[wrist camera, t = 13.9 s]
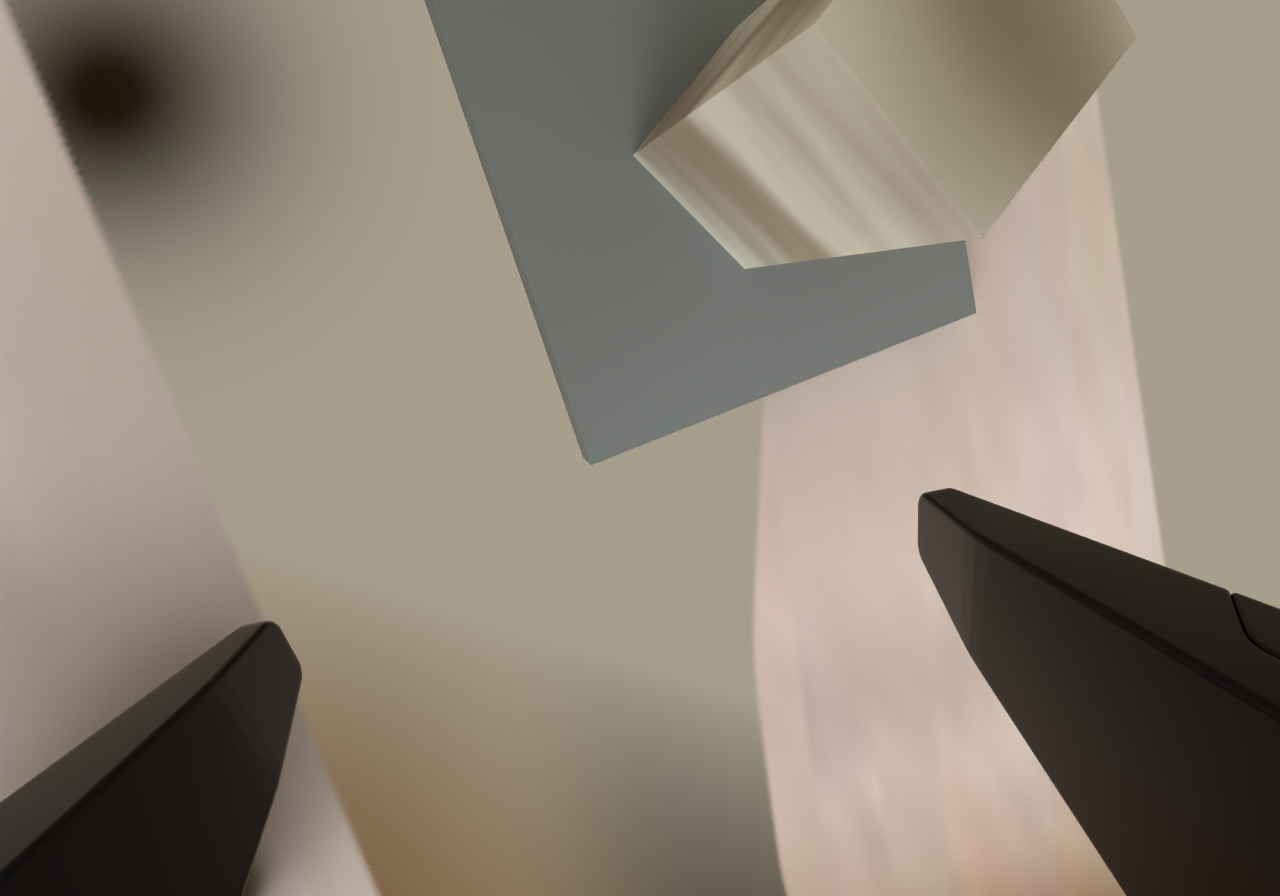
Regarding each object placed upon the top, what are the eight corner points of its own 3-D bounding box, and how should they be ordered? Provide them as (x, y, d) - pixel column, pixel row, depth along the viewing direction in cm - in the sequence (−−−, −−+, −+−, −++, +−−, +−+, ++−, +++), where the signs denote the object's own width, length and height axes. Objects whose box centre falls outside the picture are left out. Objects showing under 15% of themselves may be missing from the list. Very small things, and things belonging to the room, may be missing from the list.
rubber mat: (583, 457, 21) (591, 464, 20) (403, -62, 17) (402, -84, 16) (954, 312, 24) (976, 312, 23) (875, -153, 20) (898, -176, 19)
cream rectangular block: (744, 269, 20) (981, 237, 12) (632, 155, 18) (815, 24, 10) (837, 151, 20) (1137, 37, 12) (734, 28, 19) (996, -205, 10)
